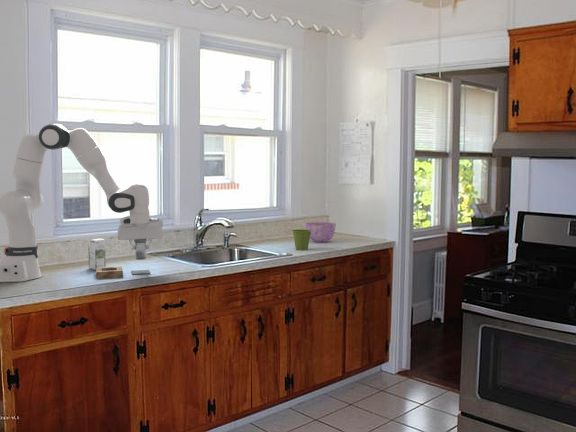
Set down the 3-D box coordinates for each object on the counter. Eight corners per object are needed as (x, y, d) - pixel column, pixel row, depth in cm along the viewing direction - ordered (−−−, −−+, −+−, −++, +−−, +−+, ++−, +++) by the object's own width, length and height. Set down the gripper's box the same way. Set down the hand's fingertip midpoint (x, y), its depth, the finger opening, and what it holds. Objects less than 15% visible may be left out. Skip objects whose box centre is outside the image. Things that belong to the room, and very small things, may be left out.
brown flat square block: (96, 278, 258) (96, 272, 258) (96, 274, 269) (96, 267, 269) (122, 277, 262) (122, 270, 261) (121, 272, 272) (121, 266, 272)
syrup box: (99, 267, 287) (98, 237, 285) (106, 268, 283) (105, 238, 282) (88, 268, 282) (87, 238, 281) (95, 270, 279) (94, 240, 277)
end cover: (135, 260, 267) (134, 240, 267) (134, 258, 273) (133, 239, 272) (147, 259, 269) (147, 239, 268) (146, 257, 274) (146, 238, 274)
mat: (132, 275, 267) (132, 273, 266) (131, 272, 274) (131, 270, 274) (150, 274, 269) (150, 272, 269) (148, 271, 277) (148, 269, 277)
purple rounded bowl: (309, 239, 391) (309, 221, 390) (338, 240, 386) (338, 222, 385) (301, 243, 372) (302, 224, 371) (332, 244, 367) (333, 225, 366)
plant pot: (298, 251, 337) (298, 232, 336) (288, 248, 347) (288, 230, 346) (315, 249, 343) (315, 230, 342) (305, 247, 353) (305, 228, 352)
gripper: (161, 217, 275) (162, 246, 277) (116, 219, 269) (117, 249, 270) (163, 219, 269) (164, 248, 271) (117, 220, 263) (118, 251, 264)
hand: (140, 248), depth 270 cm, fingers closed on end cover, 5 cm apart
